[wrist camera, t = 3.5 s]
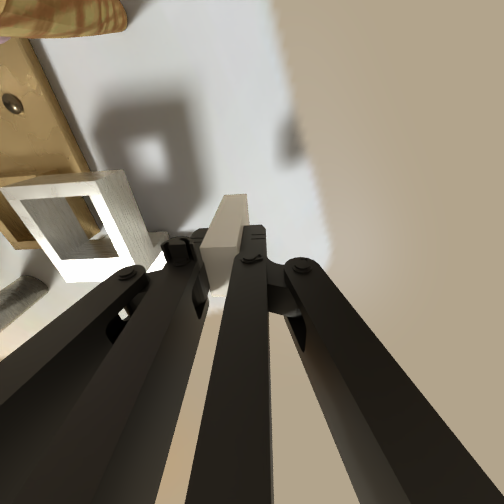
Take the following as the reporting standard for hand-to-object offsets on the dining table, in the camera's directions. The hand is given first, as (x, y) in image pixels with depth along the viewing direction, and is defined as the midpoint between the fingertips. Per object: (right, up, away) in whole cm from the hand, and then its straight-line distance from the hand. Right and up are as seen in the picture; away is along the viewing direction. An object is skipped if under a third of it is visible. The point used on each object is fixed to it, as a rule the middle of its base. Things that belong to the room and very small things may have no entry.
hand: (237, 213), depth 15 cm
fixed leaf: (-18, +5, +3) cm, 19 cm away
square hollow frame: (-10, -1, +7) cm, 13 cm away
